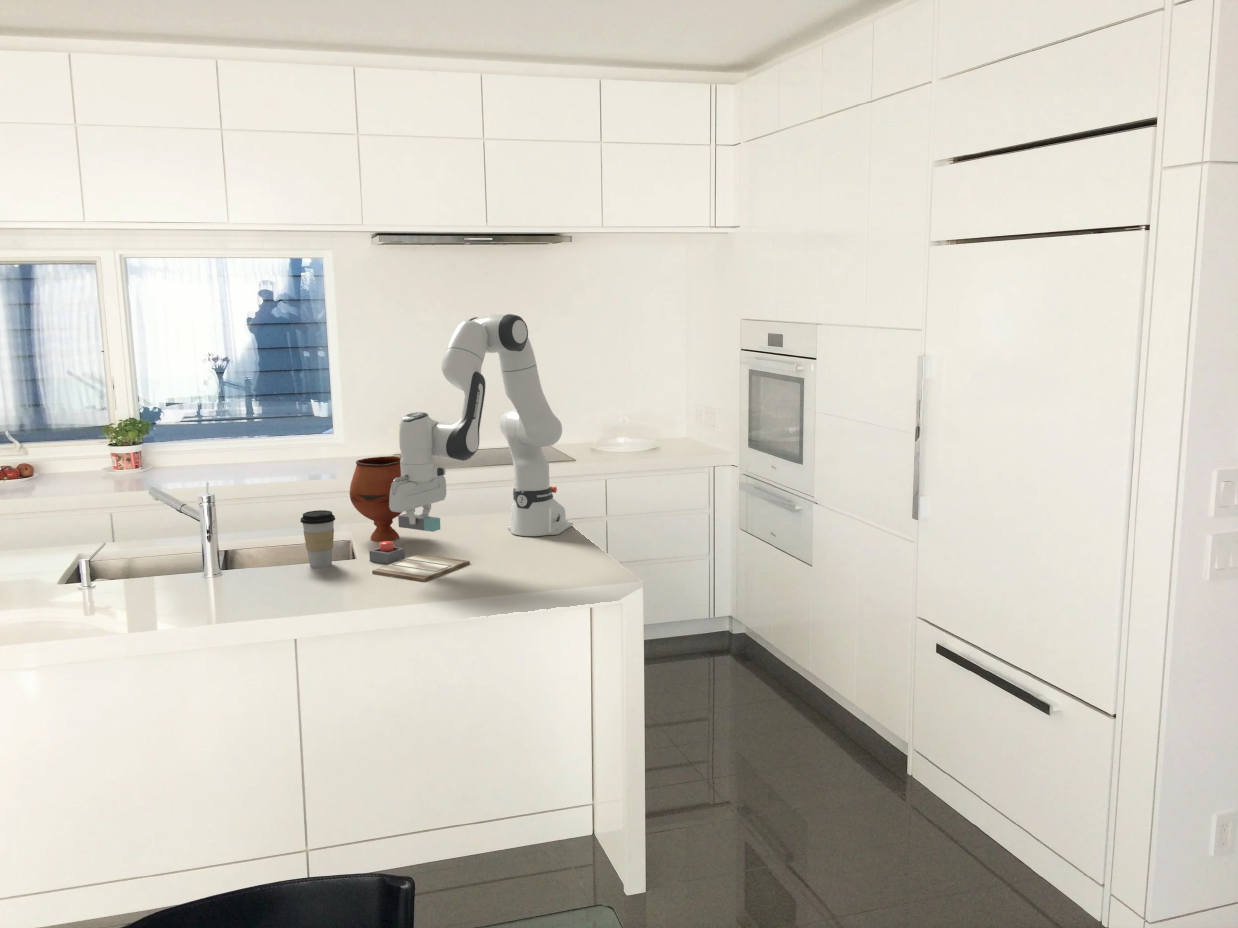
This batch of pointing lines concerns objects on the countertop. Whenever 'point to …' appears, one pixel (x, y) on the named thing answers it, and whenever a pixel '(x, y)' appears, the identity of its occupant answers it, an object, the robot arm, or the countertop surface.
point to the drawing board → (421, 567)
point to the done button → (386, 546)
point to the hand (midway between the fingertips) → (419, 522)
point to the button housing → (387, 555)
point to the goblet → (376, 493)
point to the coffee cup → (319, 537)
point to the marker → (420, 523)
